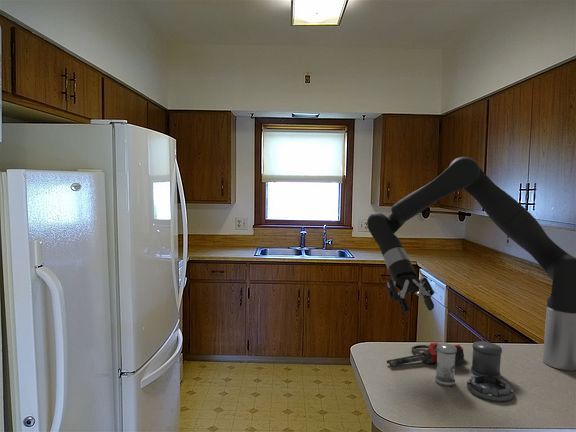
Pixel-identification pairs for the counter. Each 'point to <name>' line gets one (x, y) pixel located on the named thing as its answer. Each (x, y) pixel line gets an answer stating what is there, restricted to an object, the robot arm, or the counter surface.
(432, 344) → the valve
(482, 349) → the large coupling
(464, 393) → the counter surface
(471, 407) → the counter surface
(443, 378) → the fitting
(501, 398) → the flange
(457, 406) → the counter surface
